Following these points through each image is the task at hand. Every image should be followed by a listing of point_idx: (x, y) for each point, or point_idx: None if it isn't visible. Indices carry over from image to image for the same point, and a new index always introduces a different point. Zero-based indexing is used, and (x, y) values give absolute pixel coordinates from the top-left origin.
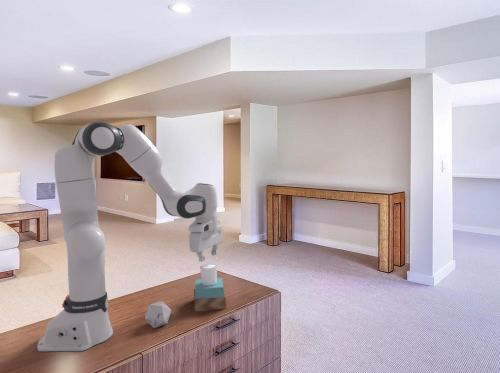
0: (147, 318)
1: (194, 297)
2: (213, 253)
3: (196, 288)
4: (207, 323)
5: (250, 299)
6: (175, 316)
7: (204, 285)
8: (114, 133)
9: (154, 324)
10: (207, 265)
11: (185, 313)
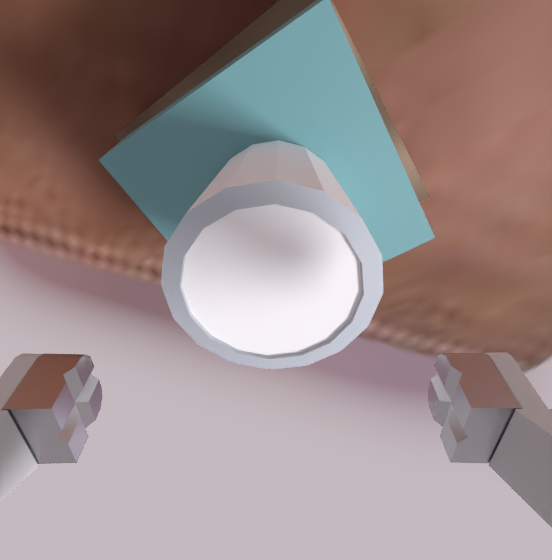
0: None
1: (148, 109)
2: (447, 405)
3: (116, 164)
4: (69, 257)
5: (403, 314)
6: (6, 30)
7: None
8: None
9: None
10: (304, 259)
11: (82, 71)
